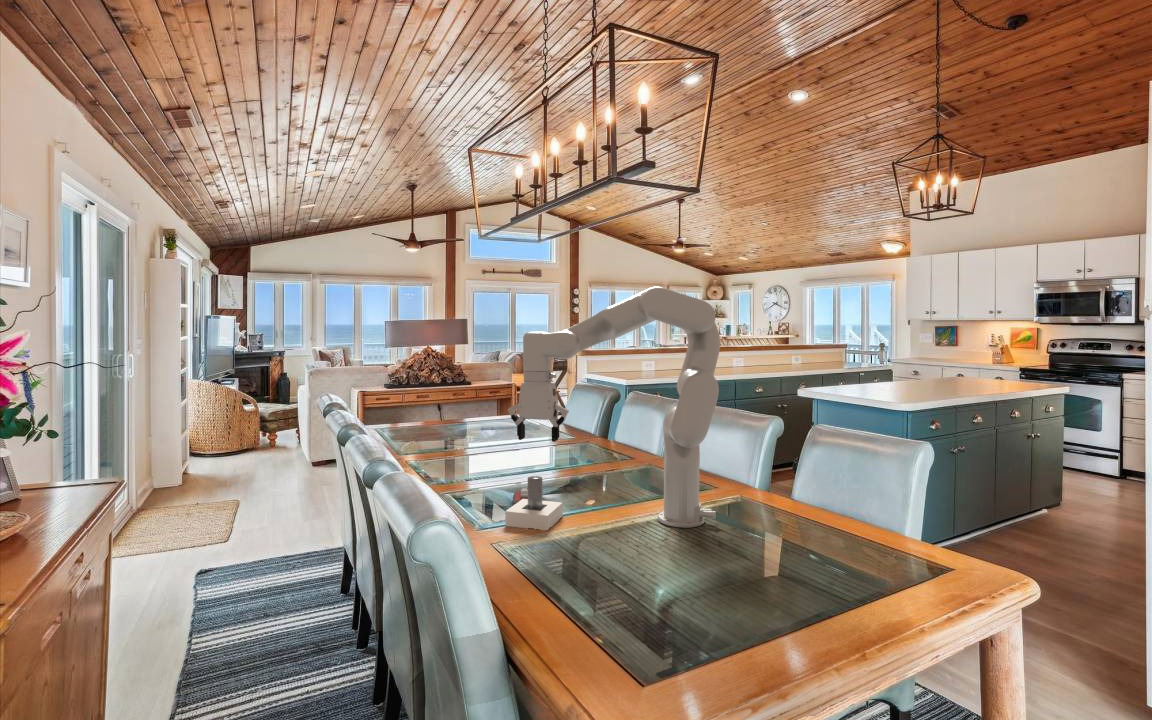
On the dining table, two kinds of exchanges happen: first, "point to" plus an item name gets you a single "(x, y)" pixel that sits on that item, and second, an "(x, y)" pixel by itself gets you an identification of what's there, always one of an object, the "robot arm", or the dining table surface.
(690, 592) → the dining table surface
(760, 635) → the dining table surface
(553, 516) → the socket block
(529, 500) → the peg
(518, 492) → the walkie-talkie
